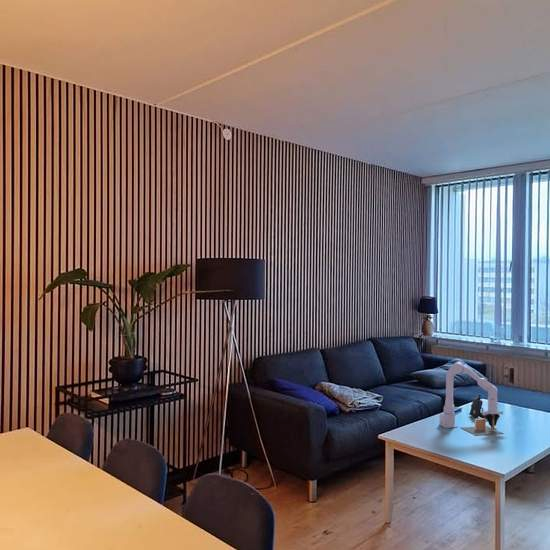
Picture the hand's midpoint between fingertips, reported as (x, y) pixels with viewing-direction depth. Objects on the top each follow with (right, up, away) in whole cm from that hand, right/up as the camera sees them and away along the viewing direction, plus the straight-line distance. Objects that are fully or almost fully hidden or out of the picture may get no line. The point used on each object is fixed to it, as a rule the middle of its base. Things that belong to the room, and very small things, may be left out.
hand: (492, 425), depth 318 cm
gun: (+4, -5, +31) cm, 31 cm away
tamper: (0, -3, 0) cm, 3 cm away
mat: (-6, -4, +2) cm, 8 cm away
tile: (-7, -4, +3) cm, 8 cm away
